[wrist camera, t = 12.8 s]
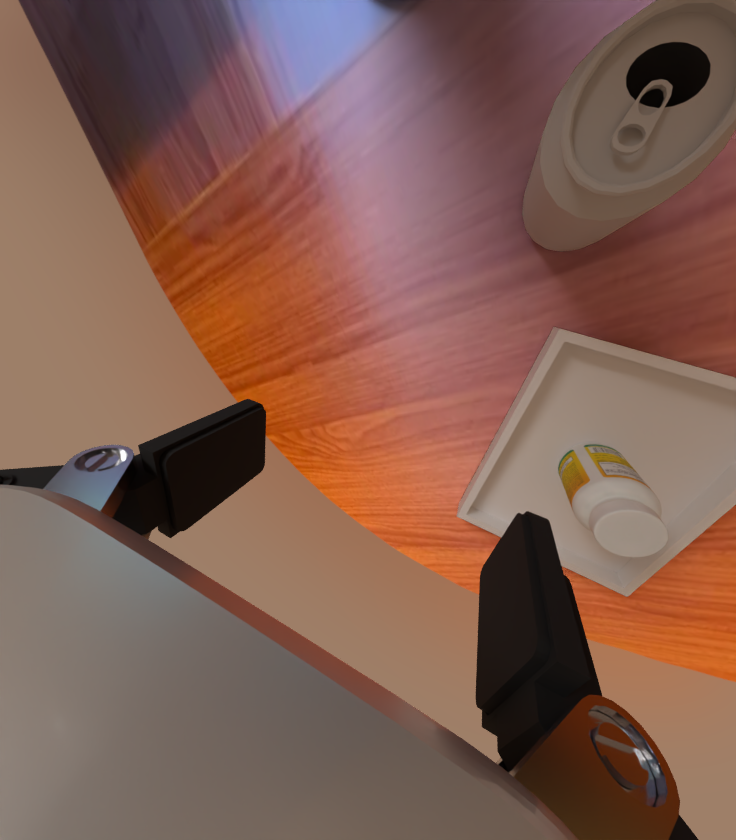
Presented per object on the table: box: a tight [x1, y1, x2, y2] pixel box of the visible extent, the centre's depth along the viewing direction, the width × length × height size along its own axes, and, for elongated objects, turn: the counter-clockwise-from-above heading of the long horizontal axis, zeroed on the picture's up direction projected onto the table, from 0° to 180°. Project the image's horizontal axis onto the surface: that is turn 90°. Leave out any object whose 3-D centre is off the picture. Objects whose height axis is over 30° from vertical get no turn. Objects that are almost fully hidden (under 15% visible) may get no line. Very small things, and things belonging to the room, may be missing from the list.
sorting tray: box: [457, 327, 736, 597], centre depth 27 cm, size 22×18×2 cm
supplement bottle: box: [558, 442, 668, 558], centre depth 23 cm, size 5×5×10 cm
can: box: [522, 0, 736, 252], centre depth 16 cm, size 8×8×12 cm
